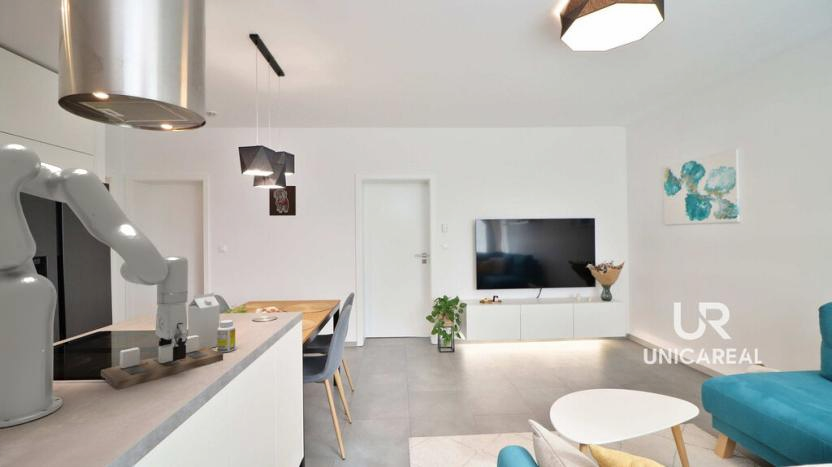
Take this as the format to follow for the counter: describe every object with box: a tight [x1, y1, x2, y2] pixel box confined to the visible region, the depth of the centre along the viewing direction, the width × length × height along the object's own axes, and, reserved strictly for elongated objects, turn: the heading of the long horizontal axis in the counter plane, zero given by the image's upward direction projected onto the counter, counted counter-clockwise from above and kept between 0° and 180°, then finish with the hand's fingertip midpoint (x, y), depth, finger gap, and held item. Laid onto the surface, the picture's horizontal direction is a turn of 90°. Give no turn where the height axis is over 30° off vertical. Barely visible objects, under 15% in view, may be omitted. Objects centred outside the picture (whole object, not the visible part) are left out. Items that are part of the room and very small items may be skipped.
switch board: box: [100, 346, 224, 390], centre depth 107 cm, size 27×14×2 cm, turn 145°
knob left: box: [119, 346, 141, 368], centre depth 103 cm, size 4×2×4 cm, turn 145°
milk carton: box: [187, 292, 220, 349], centre depth 128 cm, size 7×7×19 cm
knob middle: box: [157, 343, 174, 363], centre depth 107 cm, size 4×2×4 cm, turn 145°
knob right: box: [186, 335, 199, 353], centre depth 116 cm, size 4×2×4 cm, turn 145°
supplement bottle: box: [216, 319, 236, 353], centre depth 124 cm, size 6×6×10 cm
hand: (172, 356), depth 105 cm, fingers open, 9 cm apart
